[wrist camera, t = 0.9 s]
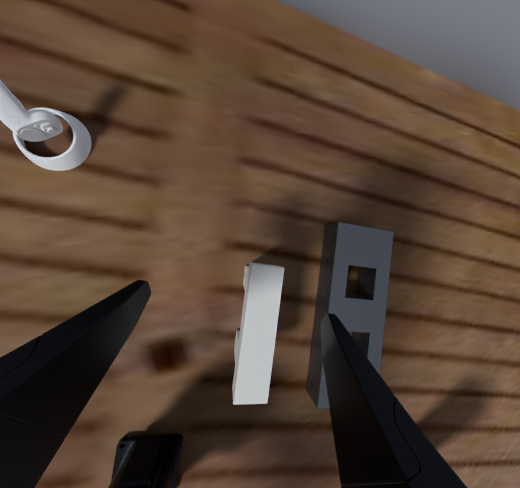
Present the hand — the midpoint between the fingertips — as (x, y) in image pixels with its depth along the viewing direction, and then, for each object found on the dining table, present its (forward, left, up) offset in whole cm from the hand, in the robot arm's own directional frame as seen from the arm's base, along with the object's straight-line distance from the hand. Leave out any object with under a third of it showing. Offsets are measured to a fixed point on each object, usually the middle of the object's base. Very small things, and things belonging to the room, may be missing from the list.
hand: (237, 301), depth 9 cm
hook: (+12, +20, -14) cm, 27 cm away
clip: (-4, -3, -14) cm, 15 cm away
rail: (-3, -16, -14) cm, 21 cm away
